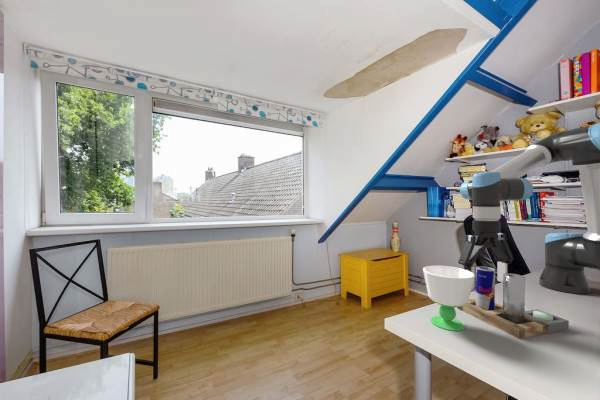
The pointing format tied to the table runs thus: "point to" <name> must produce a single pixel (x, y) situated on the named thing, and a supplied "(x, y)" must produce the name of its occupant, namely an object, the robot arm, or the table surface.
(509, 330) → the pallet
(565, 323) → the button housing
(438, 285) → the cup
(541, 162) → the robot arm
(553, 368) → the table surface
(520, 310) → the billet
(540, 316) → the button
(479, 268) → the beverage can
